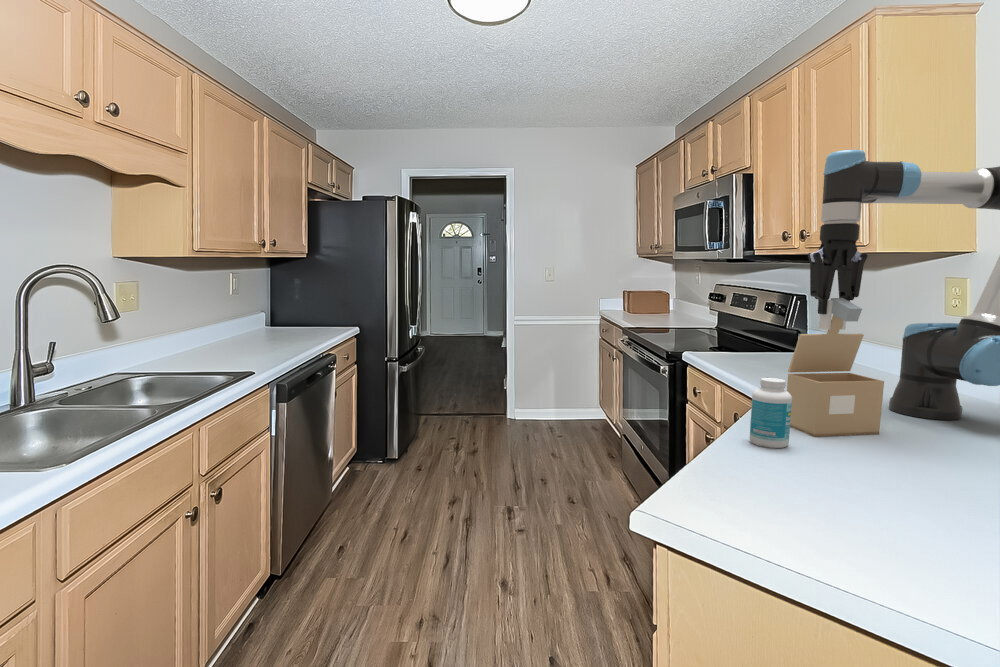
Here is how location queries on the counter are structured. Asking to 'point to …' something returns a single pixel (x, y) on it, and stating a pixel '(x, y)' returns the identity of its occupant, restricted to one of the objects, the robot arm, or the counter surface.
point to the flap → (829, 343)
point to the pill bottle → (771, 414)
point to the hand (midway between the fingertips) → (831, 328)
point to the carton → (835, 404)
